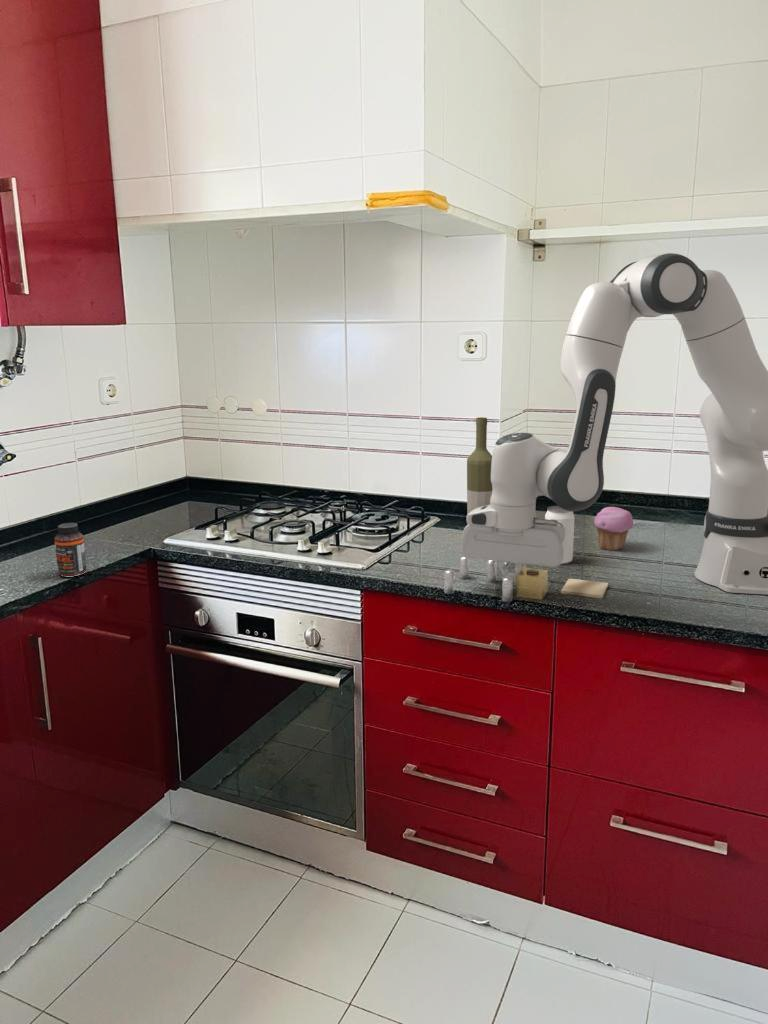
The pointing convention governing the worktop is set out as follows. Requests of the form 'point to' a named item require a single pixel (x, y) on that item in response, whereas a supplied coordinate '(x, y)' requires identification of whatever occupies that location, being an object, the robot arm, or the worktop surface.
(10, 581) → the worktop surface
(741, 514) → the robot arm
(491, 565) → the spacer posts
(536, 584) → the cube with brass knob
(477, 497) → the bottle
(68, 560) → the supplement bottle
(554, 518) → the can
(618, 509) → the cupcake
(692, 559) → the worktop surface
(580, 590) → the coaster
